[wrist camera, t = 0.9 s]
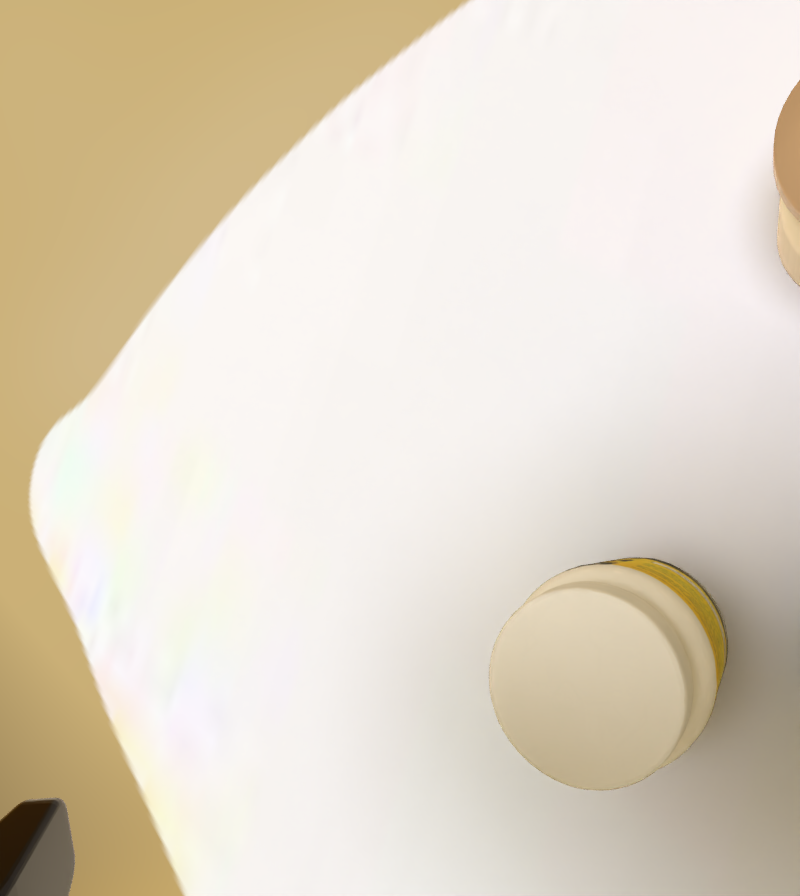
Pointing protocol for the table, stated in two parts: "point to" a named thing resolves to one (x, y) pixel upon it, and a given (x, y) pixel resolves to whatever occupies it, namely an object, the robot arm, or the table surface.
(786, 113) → the sugar jar
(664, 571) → the supplement bottle
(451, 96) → the table surface
